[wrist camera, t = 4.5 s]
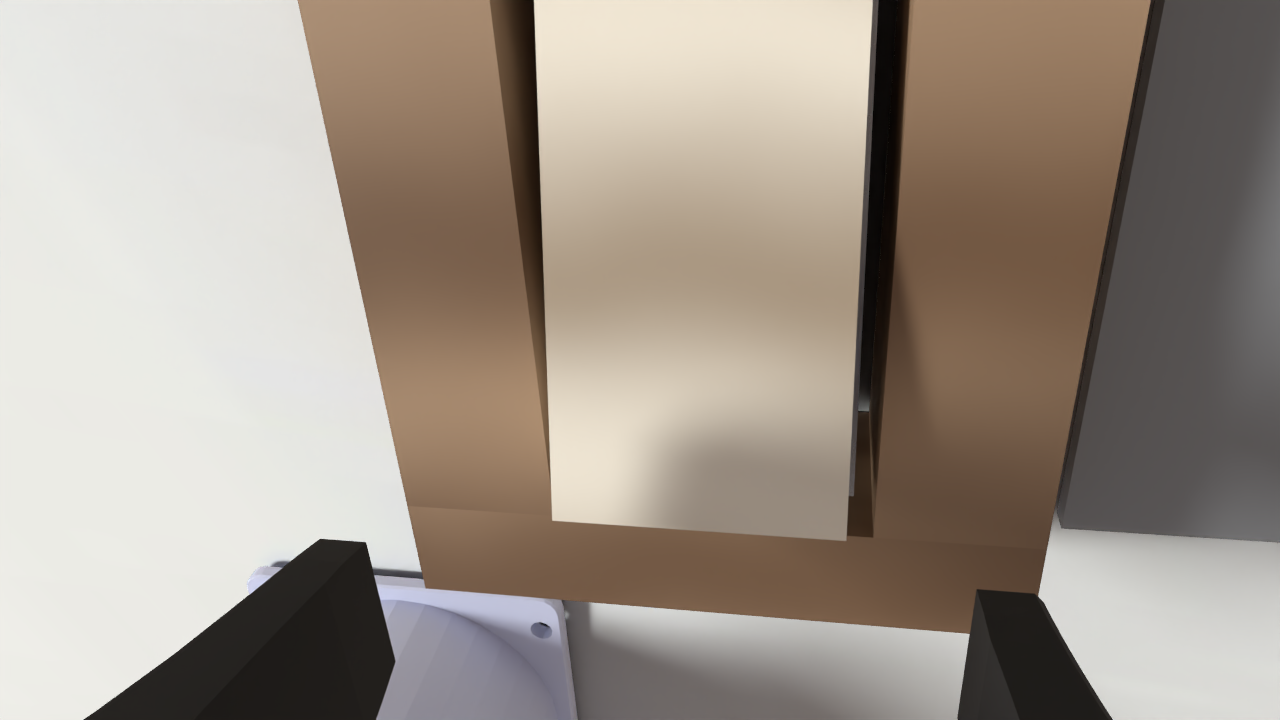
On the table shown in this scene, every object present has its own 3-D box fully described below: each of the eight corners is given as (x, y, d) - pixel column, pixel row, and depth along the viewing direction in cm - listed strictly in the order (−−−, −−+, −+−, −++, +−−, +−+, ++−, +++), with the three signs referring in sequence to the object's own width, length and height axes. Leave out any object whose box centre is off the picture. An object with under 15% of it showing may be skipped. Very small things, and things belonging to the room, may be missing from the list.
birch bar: (567, -83, 15) (529, -107, 13) (872, -96, 15) (878, -121, 13) (582, 473, 18) (552, 520, 16) (844, 489, 17) (846, 541, 15)
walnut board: (355, -313, 15) (225, -331, 12) (1138, -378, 13) (1230, -420, 10) (484, 469, 23) (425, 588, 19) (1001, 500, 21) (1030, 638, 18)
